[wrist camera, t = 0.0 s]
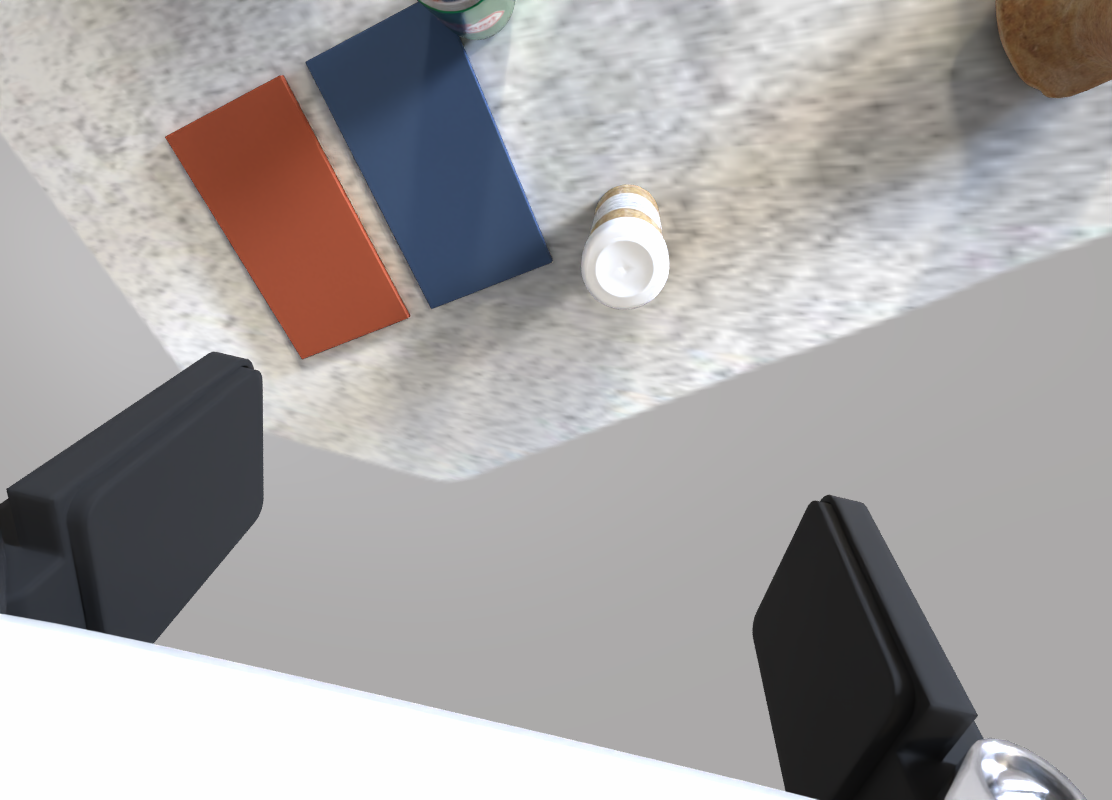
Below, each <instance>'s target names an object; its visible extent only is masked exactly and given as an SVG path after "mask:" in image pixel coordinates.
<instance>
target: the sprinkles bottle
mask: <svg viewBox="0 0 1112 800" xmlns="http://www.w3.org/2000/svg"><path fill="white" fill-rule="evenodd" d="M668 272H669V257H668V251H667V247H666V244H665V241H664V239H663V237H662V228H661V223H660V214H659V209H658V206H657V203H656V201H655V200H654V198H653V197H652V196H651V194H650V193H649V192H648V191H646V190H644V189H643V188H641V187H639V186H635V185H621V186H617V187H614V188H613V189H611V190H609V191H608V192H607V193H605V194H604V195H603V197H602V198H601V199H600V201H599V203H598V205H597V207H596V210H595V217H594V220H593V224H592V228H591V232H590V235H589V238H588V240H587V242H586V244H585V247H584V250H583V254H582V259H581V273H582V278H583V281H584V284H585V286H586V288H587V289H588V291H589V292H590V294H591V295H592V296H593V297H594V298H595V299H596V300H598V301H599V302H600V303H602V304H604V305H606V306H608V307H611V308H615V309H623V310H625V309H633V308H637V307H640V306H642V305H645V304H647V303H648V302H650V301H651V300H652V299H654V298H655V297H656V296H657V295H658V294H659V292H660V291H661V290H662V288H663V286H664V284H665V282H666V280H667V277H668Z"/></svg>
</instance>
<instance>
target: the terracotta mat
mask: <svg viewBox="0 0 1112 800" xmlns="http://www.w3.org/2000/svg"><path fill="white" fill-rule="evenodd" d="M165 138H166V139H167V141H168V143H169V144H170V146H171V148H172V149H173V151H174V152H175V154H176V156H177V157H178V159H179V160H180V162H181V164H182V165H183V167H184V169H185V170H186V172H187V173H188V175H189V177H190V178H191V180H192V182H193V183H194V185H195V186H196V188H197V190H198V191H199V193H200V195H201V196H202V198H203V199H204V201H205V203H206V204H207V206H208V208H209V209H210V211H211V212H212V214H213V216H214V217H215V219H216V221H217V222H218V224H219V225H220V227H221V229H222V230H223V232H224V233H225V235H226V237H227V238H228V240H229V242H230V243H231V245H232V246H233V248H234V250H235V251H236V253H237V255H238V256H239V258H240V259H241V261H242V263H243V264H244V266H245V268H246V269H247V271H248V272H249V274H250V276H251V277H252V279H253V281H254V282H255V284H256V285H257V287H258V289H259V290H260V292H261V294H262V295H263V297H264V298H265V300H266V302H267V303H268V305H269V307H270V308H271V310H272V311H273V313H274V315H275V316H276V318H277V319H278V321H279V323H280V324H281V326H282V328H283V329H284V331H285V332H286V334H287V336H288V337H289V339H290V341H291V342H292V344H293V345H294V347H295V349H296V350H297V352H298V354H299V355H300V357H301V358H302V359H304V358H307V357H309V356H312V355H314V354H317V353H320V352H322V351H325V350H327V349H330V348H332V347H335V346H338V345H340V344H343V343H345V342H348V341H351V340H353V339H356V338H358V337H361V336H363V335H366V334H369V333H371V332H374V331H376V330H379V329H381V328H384V327H387V326H389V325H392V324H394V323H397V322H400V321H402V320H405V319H407V318H409V317H410V315H409V313H408V311H407V309H406V307H405V305H404V303H403V301H402V299H401V298H400V296H399V294H398V292H397V290H396V288H395V286H394V284H393V282H392V280H391V279H390V277H389V275H388V273H387V271H386V269H385V267H384V265H383V263H382V261H381V260H380V258H379V256H378V254H377V252H376V250H375V248H374V246H373V244H372V243H371V241H370V239H369V237H368V235H367V233H366V231H365V229H364V227H363V225H362V224H361V222H360V220H359V218H358V216H357V214H356V212H355V210H354V208H353V206H352V205H351V203H350V201H349V199H348V197H347V195H346V193H345V191H344V189H343V188H342V186H341V184H340V182H339V180H338V178H337V176H336V174H335V172H334V170H333V169H332V167H331V165H330V163H329V161H328V159H327V157H326V155H325V153H324V151H323V150H322V148H321V146H320V144H319V142H318V140H317V138H316V136H315V134H314V132H313V131H312V129H311V127H310V125H309V123H308V121H307V119H306V117H305V115H304V114H303V112H302V110H301V108H300V106H299V104H298V102H297V100H296V98H295V96H294V95H293V93H292V91H291V89H290V87H289V85H288V83H287V81H286V79H285V77H284V76H278V77H276V78H274V79H272V80H271V81H269V82H267V83H265V84H263V85H261V86H259V87H257V88H256V89H254V90H252V91H250V92H248V93H246V94H244V95H242V96H241V97H239V98H237V99H235V100H233V101H231V102H229V103H227V104H226V105H224V106H222V107H220V108H218V109H216V110H214V111H212V112H211V113H209V114H207V115H205V116H203V117H201V118H199V119H197V120H196V121H194V122H192V123H190V124H188V125H186V126H184V127H182V128H181V129H179V130H177V131H175V132H173V133H171V134H169V135H167V136H166V137H165Z"/></svg>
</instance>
